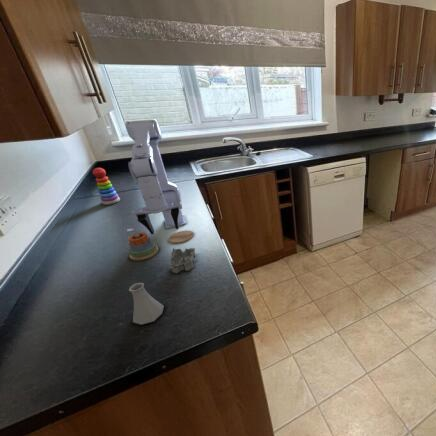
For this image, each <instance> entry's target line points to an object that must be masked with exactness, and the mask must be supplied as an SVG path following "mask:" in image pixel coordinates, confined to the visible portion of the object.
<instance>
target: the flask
mask: <svg viewBox="0 0 436 436" xmlns="http://www.w3.org/2000/svg"><path fill="white" fill-rule="evenodd" d="M144 286H145V283H144V282H137V283H133V284H132V285H130V286H129V289H128V292H129V293H131V294H132V299H133V313H132V323H134V324H137V325H140V326H142V325H144V324H149V323H152V322H155V321H156V320H157V319H158V318H159V317H160V316H161V315H162V314H163V311H164V307H165V306H164V304H162V303H160V302H159V301H158V300H157V299H155V298H154V297H152V296H151V295H150V294H149V292H148V291H147V290H146V289H145V287H144Z"/></svg>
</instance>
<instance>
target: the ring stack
mask: <svg viewBox="0 0 436 436" xmlns="http://www.w3.org/2000/svg"><path fill="white" fill-rule="evenodd" d="M136 234H137V233H136ZM135 238H136V239H138V238H141V236H140V234H137V235H135ZM128 246H129V248H128V252H129V254H128V255H129V259H130V260H131V261H134V262H138V261H144V260H147V259H150V258H153V257H154V256H155V255H156V254H158V253H159V250H160V248H159V246H158V245H157V244H156V243H155V241H152V240H151V237H149V236H148V241H147V242H146V243H144V244H141V245H136V246H133V245H131V244H130V242H129V243H128Z"/></svg>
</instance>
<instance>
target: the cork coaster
mask: <svg viewBox="0 0 436 436" xmlns="http://www.w3.org/2000/svg"><path fill="white" fill-rule="evenodd" d="M194 235H195V234H194V232H193V231H192V230H182V231H178V232H176V233H173V234H171V235H170V237H169V238H168V241H169V242H170V243H171V244H181V243H185V242H187V241H189V240H191V239H192V238H193V237H194Z"/></svg>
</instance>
